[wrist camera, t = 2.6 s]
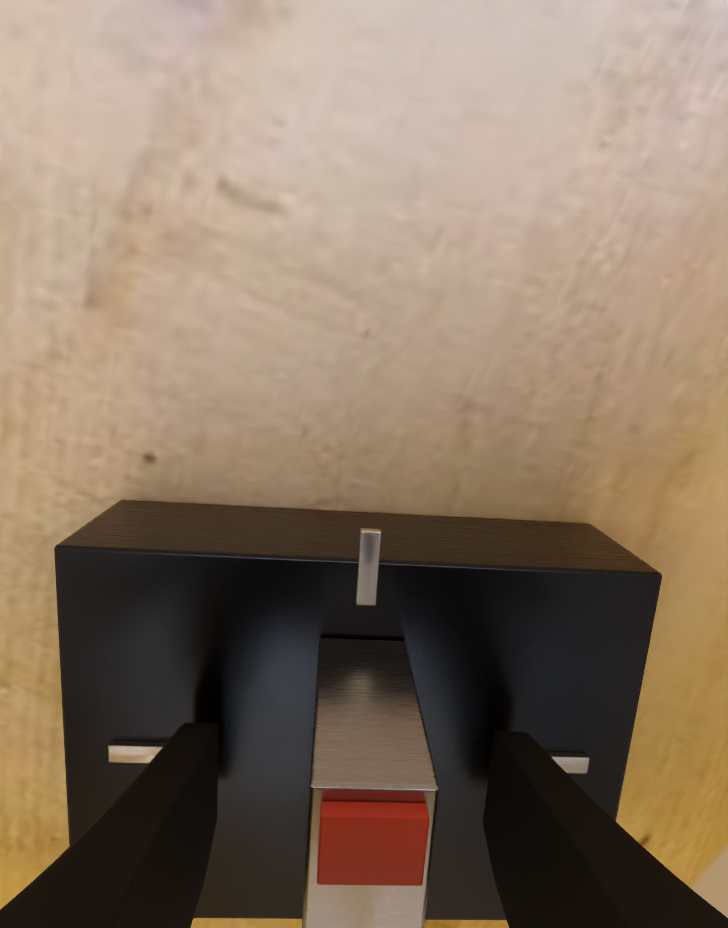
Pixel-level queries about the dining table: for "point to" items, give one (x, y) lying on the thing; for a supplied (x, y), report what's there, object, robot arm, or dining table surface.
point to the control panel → (296, 659)
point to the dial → (368, 791)
